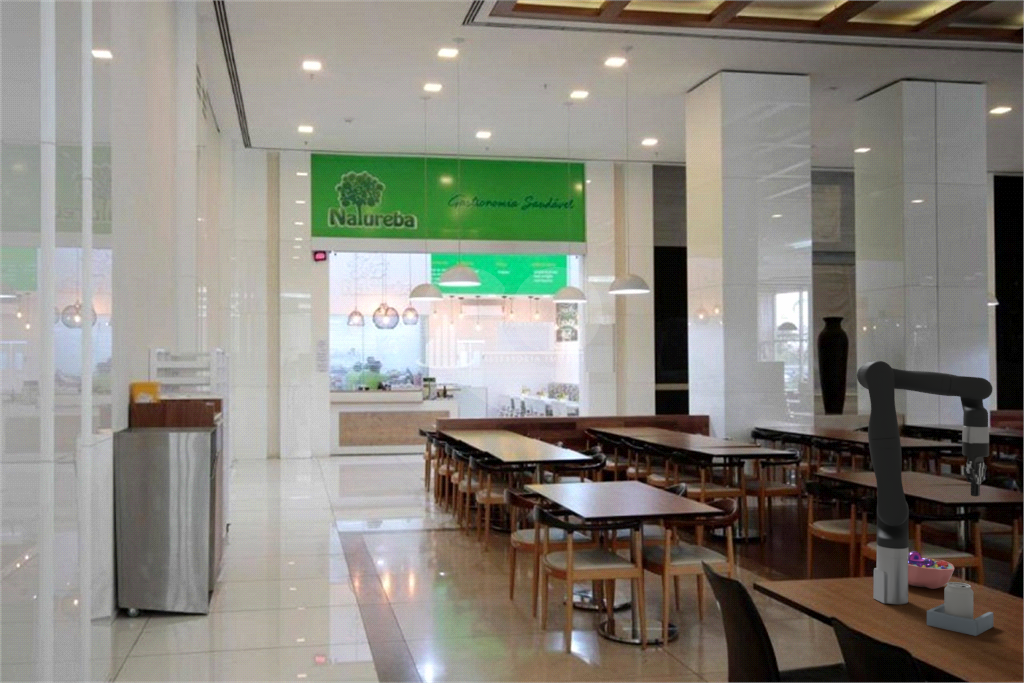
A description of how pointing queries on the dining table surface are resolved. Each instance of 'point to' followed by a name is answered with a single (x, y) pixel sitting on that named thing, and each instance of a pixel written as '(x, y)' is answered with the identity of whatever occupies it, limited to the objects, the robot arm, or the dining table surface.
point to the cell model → (928, 571)
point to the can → (958, 600)
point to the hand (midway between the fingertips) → (975, 495)
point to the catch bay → (959, 621)
